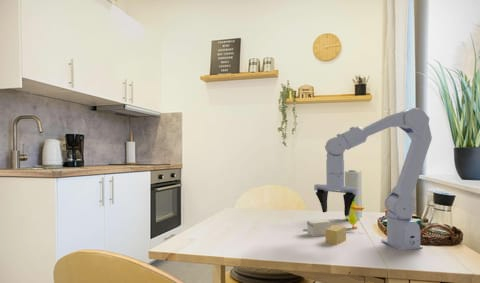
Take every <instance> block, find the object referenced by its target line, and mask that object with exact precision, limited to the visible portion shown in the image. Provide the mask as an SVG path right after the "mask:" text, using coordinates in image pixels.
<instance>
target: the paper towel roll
mask: <svg viewBox="0 0 480 283" xmlns="http://www.w3.org/2000/svg"><path fill="white" fill-rule="evenodd" d="M344 186H348V187H354V188H358V194H356V196H355V198H354V200H355V203H356V206H359V207H363V206H362V204H363V203H362V202H363V201H362V197H363V196H362V194H363V193H362V170H359V171H358V170H344ZM344 194H346V193H344ZM362 211H363V210H355V216H356V217H357V221H358V220H360V219H361V218H362V217H363V216H362V213H363V212H362ZM350 215H351V212H350V211H349V215H348V216H345V215H344V218H345V219H347V217H349V216H350Z"/></svg>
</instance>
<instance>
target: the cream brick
mask: <svg viewBox="0 0 480 283" xmlns="http://www.w3.org/2000/svg"><path fill="white" fill-rule="evenodd" d="M306 225H307V228H306V229H307V232H306V233H307V235H309V236H312V237H319V236H320V237H322V236H326V231H325V229H327V228H329V227H331V221H329V220H327V219H325V218H322V219H319V218H318V219H313V220H311V219H310V220H307V221H306Z"/></svg>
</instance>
